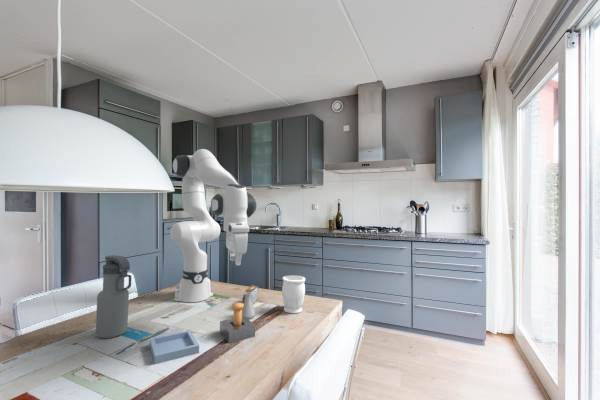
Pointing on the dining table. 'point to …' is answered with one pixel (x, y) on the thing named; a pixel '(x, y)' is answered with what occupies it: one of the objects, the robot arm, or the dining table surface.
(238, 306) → the wooden peg
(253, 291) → the tin
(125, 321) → the water bottle
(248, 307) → the flask
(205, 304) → the dining table surface
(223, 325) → the metal block with hole
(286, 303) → the jar
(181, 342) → the tray
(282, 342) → the dining table surface
